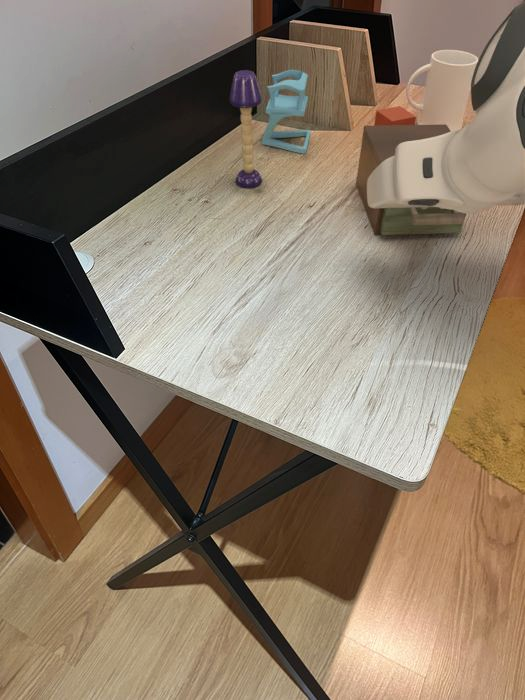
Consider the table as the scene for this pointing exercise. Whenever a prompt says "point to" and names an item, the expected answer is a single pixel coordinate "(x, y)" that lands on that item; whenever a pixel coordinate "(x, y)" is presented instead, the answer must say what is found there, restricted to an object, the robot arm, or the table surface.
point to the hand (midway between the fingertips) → (431, 203)
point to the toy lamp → (246, 123)
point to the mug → (445, 88)
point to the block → (394, 117)
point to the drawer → (421, 221)
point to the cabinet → (386, 156)
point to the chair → (286, 110)
